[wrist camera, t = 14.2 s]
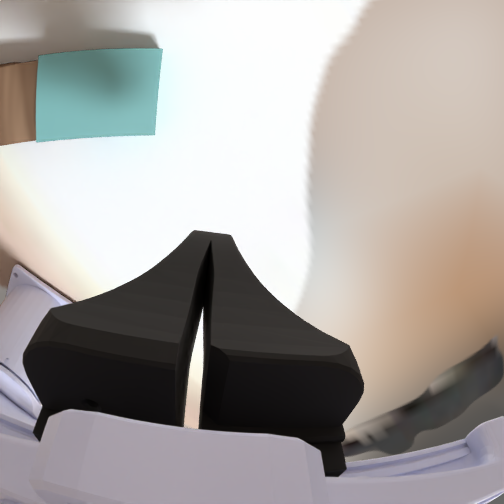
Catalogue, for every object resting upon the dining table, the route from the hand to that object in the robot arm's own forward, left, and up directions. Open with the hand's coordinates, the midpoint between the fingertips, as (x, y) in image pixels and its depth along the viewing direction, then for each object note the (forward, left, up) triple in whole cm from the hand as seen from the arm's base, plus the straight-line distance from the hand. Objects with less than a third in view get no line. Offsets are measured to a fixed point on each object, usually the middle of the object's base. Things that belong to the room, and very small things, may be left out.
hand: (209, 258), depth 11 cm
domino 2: (+2, +6, -9) cm, 11 cm away
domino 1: (-1, +10, -9) cm, 14 cm away
